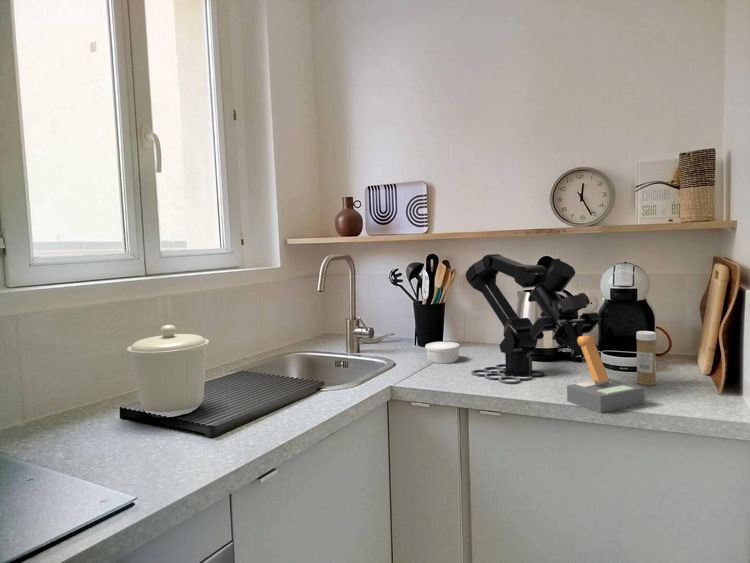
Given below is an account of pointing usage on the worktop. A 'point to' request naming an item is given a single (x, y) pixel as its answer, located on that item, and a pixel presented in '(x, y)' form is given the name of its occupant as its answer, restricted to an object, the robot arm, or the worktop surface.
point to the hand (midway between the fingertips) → (583, 353)
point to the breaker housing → (605, 395)
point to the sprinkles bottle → (646, 357)
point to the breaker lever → (593, 360)
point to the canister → (169, 370)
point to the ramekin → (442, 352)
